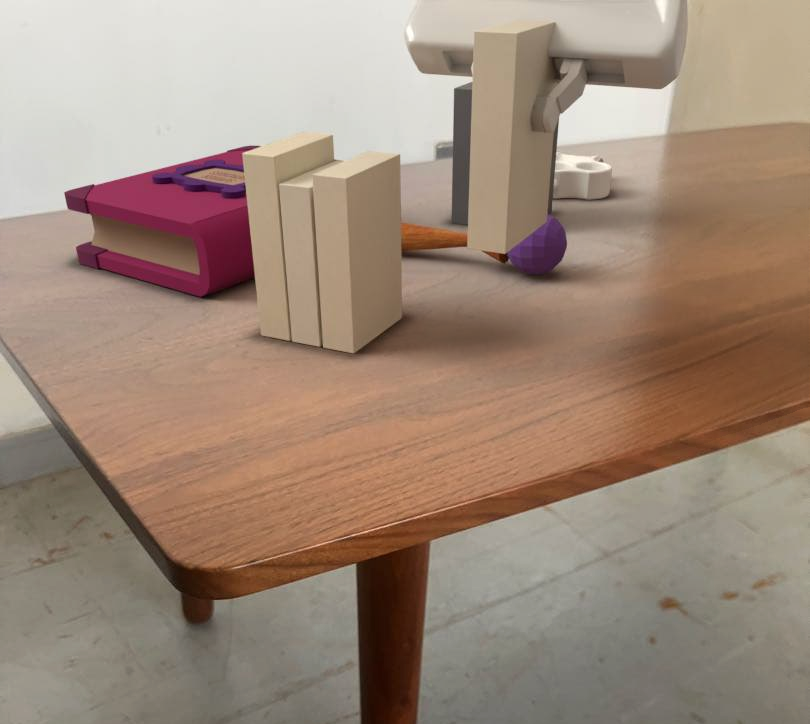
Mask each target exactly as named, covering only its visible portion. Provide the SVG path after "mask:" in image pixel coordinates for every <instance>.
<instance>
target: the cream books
mask: <svg viewBox="0 0 810 724" xmlns="http://www.w3.org/2000/svg"><path fill="white" fill-rule="evenodd" d="M260 146H261V147H258V148H256V149H253V150H250V151H247V152H244V153H242V155H243V165H244V175H245V184H246V194H247V204H248V213H249V223H250V233H251V242H252V252H253V262H254V271H255V277H254V280H255V289H256V298H257V309H258V318H259V319H258V320H259V327H260V328H259V329H260V335H261V336H262V337H267V338H273V339H277V340H283V341H288V342H290V341H291V342H292V343H298V344H302V345H303V344H304V345H308V346H312V347H317V348H321V347H323V348H324V349H329V350H334V351H339V352H343V353H348V354H356V352H358V351H359V350H361V349H362V348H363V347H365V346H366V345H367V344H369V343H370V342H371V341H373V340H374V339H376V338H377V337H379V335H381V334H383V333H384V332H385V331H386V330H388V329H389V328H391V327H392V326H393V325H395V324H396V323H398V322H399V321H400V320H401V319H402V318H403V290H402V289H403V284H402V283H403V281H402V279H403V277H402V276H403V274H402V273H403V272H402V251H401V223H402V195H401V194H402V193H401V191H402V189H401V187H402V186H401V181H402V179H401V154H400V153H393V152H385V151H384V152H383V151H372V150H368V151H365V152H363V153H361V154H358V155H355V156H352V157H351V158H349V159H346V160H342V161H340V160H341V159H335V150H334V149H335V147H334V146H335V145H334V135H333V134H331V133H330V134H329V133H318V132H309V131H308V132H307V131H302V132H298V133H296V134H293V135H290V136H288V137H284V138H282V139H279V140H276V141H273V142H270V143H268V144H267V143H266V144H265V145H260ZM334 159H335V160H336V161H334Z"/></svg>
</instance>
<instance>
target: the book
mask: <svg viewBox="0 0 810 724" xmlns="http://www.w3.org/2000/svg"><path fill="white" fill-rule="evenodd" d="M261 146H262V145H244V146H239V147H236V148H233V149H232V148H231V149H228V150H226V152H221V153H217V154H212V155H209V156H205V157H201V158H197V159H193V160H189V161H185V162H181V163H178V164H173V165H170V166H169V165H168V166H166V167H162V168H158V169H154V170H149V171H146V172H142V173H138V174H133V175H130V176H125V177H122V178H118V179H114V180H110V181H106V182H102V183H98V184H95V183H93V184H89V185H88V184H87V185H84V186H80V187H76V188H72V189H68V190H67V191H63V194H64V199H65V203H66V207H67V210H70V211H73V212H77V213H82V214H85V215H90V216H91V220H92V225H93V231H94V233H93V237H92V240H91V241H87V242H84V243H81V244H79V245H77V246H75V251H76V255H77V260H78V263H79V265H82V266H86V267H89V268H92V269H96V270H98V269H102V270H107V271H110V272H113V273H117V274H120V275H123V276H127V277H131V278H133V279H138V280H141V281H145V282H148V283H152V284H155V285H158V286H162V287H166V288H169V289H173V290H176V291H180V292H183V293H186V294H189V295H192V296H197V297H200V298H202V297H204V296H206V295H212V294H214V293H217V292H220V291H222V290H225V289H228V288H230V287H232V286H235V285H238V284H240V283H243V282H246V281H248V280H251V279H254V278H255V271H254V262H253V252H252V242H251V233H250V223H249V213H248V204H247V194H246V184H245V175H244V165H243V155H242V153H244V152H247V151H250V150H253V149H256V148H258V147H261ZM336 160H337V159H335V158H334V161H336ZM339 160H340V161H343V160H341V159H339Z"/></svg>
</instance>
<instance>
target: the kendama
mask: <svg viewBox="0 0 810 724" xmlns="http://www.w3.org/2000/svg"><path fill="white" fill-rule="evenodd" d="M467 243H468V233H465V232H460V231H459V232H458V231H453V230H447V229H441V228H437V227H436V228H435V227H429V226H423V225H419V224H418V225H417V224H413V223H406V222H401V252H413V251H425V250H440V249H453V248H467ZM567 247H568V239H567V233H566V229H565V227H564V225H562V223H561V222H560V221H559V218H556V217H554V216H553V215H551V214H547V222H546V223H545V224H543V225H542V226H541V227H540V228H538V229H537V230H536V231H534V232H533V233H532V234H530V235H529V236H528V237H527V238H525V239H524V240H523V241H521V242H520V243H519V244H517V245H516V246H515V247H514V248H512V249H511V250H510V251H508V252H507V253H506V254H502V253H495V252H488V251H481V252H482V253H484V254H485V255H487V256H489V257H491V258H492V259H494V260H496V261H498V262H499V263H501V264H503V265H505V264H507V263H508V262H511V264H512V265H513V267H514V268H515V269H516V270H519V271H520V272H522V273H523V274H526V275H532V276H541V275H544V274H547V273H550V272H551V271H553V270H554V269H555V268H556V267H557V266H558V265H559V264H560V263H561V262H563V259H564V256H565V254H566V251H567Z"/></svg>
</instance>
